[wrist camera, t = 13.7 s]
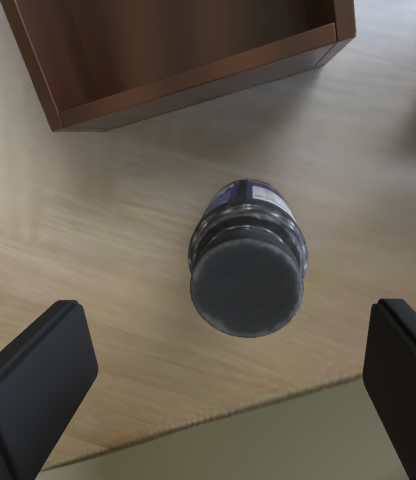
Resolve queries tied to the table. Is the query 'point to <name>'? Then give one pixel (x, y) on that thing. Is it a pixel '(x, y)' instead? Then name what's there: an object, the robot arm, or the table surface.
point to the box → (165, 52)
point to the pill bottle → (247, 261)
